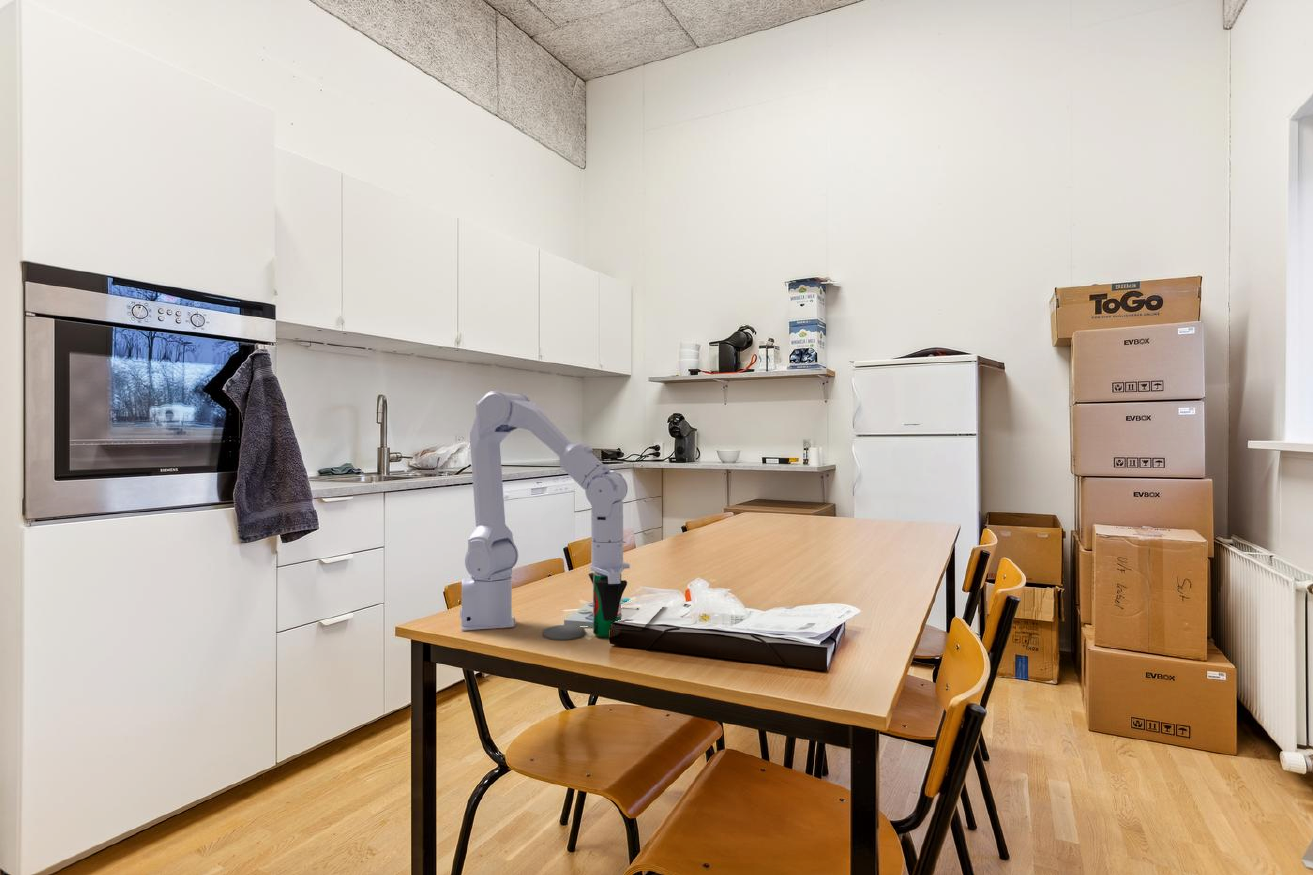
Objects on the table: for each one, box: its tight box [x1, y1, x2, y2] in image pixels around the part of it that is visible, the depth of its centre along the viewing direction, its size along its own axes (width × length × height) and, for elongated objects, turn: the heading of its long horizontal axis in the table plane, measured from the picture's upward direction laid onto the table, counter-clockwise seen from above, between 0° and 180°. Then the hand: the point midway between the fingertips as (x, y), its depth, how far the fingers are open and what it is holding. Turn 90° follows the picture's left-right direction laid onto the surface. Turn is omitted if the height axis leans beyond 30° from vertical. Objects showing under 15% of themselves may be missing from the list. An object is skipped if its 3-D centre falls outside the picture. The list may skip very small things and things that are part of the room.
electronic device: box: [563, 597, 631, 627], centre depth 136 cm, size 18×2×15 cm
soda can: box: [592, 571, 622, 639], centre depth 123 cm, size 5×5×12 cm
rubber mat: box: [542, 624, 586, 641], centre depth 124 cm, size 8×8×1 cm
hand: (607, 616), depth 123 cm, fingers closed on soda can, 5 cm apart
